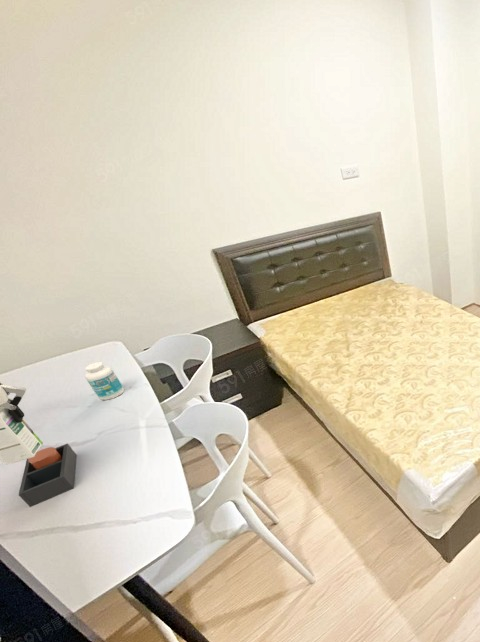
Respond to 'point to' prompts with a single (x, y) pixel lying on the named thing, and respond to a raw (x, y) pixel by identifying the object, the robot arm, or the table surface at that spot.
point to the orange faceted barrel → (45, 458)
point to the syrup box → (16, 439)
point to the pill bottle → (103, 381)
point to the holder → (49, 478)
